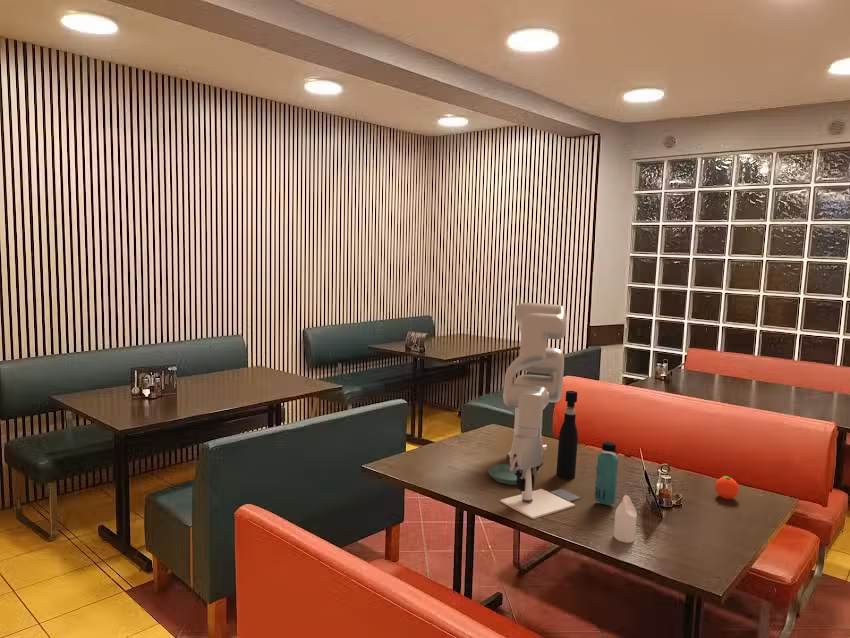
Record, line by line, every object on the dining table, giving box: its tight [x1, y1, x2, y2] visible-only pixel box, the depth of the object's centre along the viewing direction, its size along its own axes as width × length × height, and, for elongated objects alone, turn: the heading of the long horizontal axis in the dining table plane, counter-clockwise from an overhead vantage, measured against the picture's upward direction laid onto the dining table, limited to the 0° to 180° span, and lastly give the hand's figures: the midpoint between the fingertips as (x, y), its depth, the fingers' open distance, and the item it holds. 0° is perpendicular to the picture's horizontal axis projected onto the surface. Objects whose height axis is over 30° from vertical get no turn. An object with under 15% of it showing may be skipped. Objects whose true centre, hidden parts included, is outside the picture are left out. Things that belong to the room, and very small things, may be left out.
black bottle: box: [556, 390, 579, 481], centre depth 210 cm, size 6×6×30 cm
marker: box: [521, 468, 533, 502], centre depth 187 cm, size 3×3×12 cm
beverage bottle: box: [593, 441, 620, 506], centre depth 187 cm, size 6×7×20 cm
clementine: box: [714, 475, 740, 500], centre depth 198 cm, size 8×7×7 cm
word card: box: [550, 488, 581, 503], centre depth 194 cm, size 5×8×1 cm, turn 35°
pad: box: [499, 488, 576, 520], centre depth 187 cm, size 18×14×1 cm
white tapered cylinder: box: [613, 494, 638, 544], centre depth 166 cm, size 6×12×6 cm
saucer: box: [488, 463, 521, 486], centre depth 207 cm, size 15×15×3 cm
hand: (525, 488), depth 188 cm, fingers closed on marker, 3 cm apart
